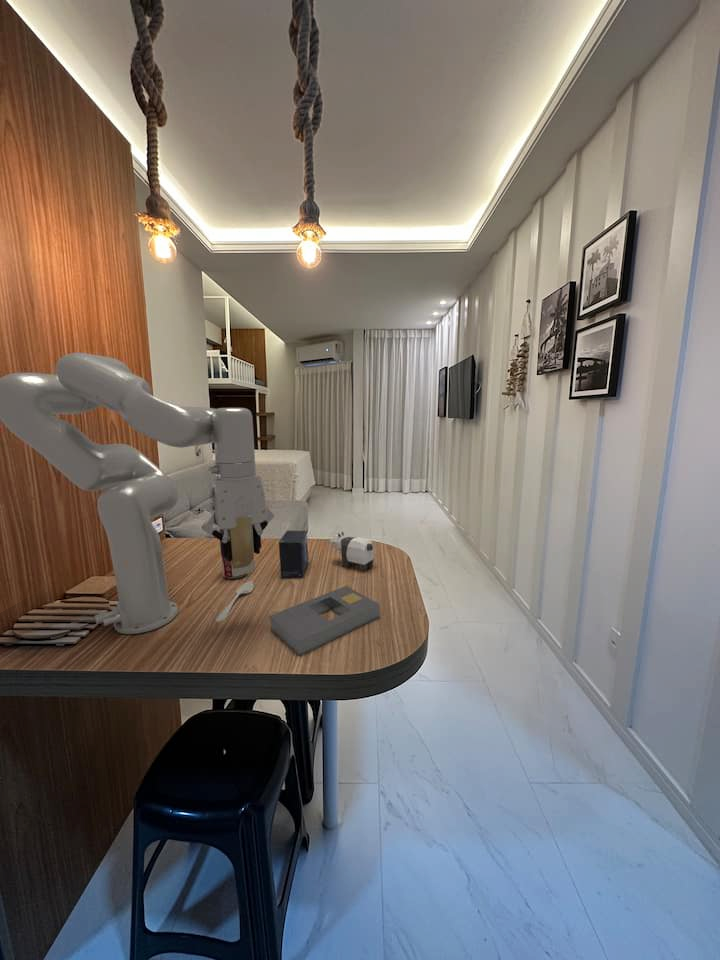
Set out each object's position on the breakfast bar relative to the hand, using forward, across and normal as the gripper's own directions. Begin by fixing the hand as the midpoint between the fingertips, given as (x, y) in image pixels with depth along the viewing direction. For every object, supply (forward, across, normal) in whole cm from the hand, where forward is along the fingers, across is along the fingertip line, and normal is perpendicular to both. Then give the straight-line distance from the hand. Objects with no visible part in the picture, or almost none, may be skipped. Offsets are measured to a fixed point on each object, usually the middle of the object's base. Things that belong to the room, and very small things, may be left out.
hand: (242, 554), depth 79 cm
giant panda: (+15, +36, +8) cm, 40 cm away
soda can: (+16, +8, +26) cm, 32 cm away
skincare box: (+3, 0, 0) cm, 3 cm away
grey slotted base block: (+15, +13, -12) cm, 23 cm away
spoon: (+16, +1, +10) cm, 19 cm away
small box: (+16, +22, +17) cm, 32 cm away
